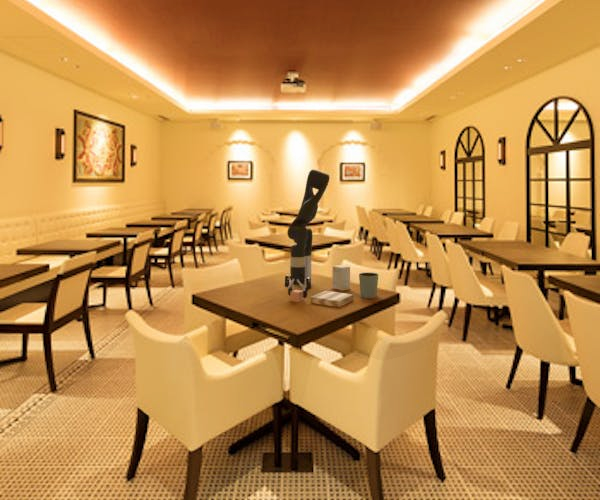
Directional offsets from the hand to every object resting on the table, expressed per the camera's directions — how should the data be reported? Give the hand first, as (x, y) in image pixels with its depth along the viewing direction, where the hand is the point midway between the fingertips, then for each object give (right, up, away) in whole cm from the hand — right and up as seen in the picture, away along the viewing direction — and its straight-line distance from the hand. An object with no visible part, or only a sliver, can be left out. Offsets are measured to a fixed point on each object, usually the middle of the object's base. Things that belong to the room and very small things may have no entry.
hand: (297, 296), depth 237 cm
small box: (+25, +2, +27) cm, 37 cm away
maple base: (+18, -2, -1) cm, 18 cm away
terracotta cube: (0, -2, +1) cm, 2 cm away
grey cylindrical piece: (+37, -1, +10) cm, 39 cm away
